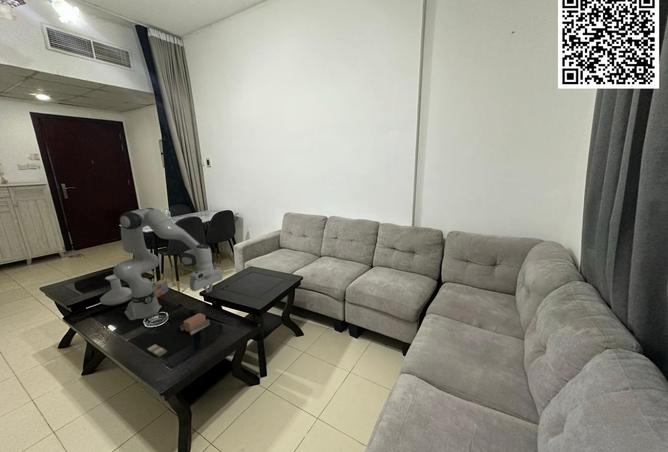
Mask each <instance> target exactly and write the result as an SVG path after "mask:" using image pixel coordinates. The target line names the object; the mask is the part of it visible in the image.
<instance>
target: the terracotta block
mask: <svg viewBox="0 0 668 452" xmlns="http://www.w3.org/2000/svg"><path fill="white" fill-rule="evenodd" d="M206 320H207V319H206V314H203V313H200V312H198V313H197V314H195V315H193V316H191V317H188V318H186V319H185V320H184V321H183V324H184V328H185V330H184V331H185V332H188V333H190V332H189V330H190V329H192V328H194V327H195V326H197V325H199V324H201V323H202V322H204V321H206Z"/></svg>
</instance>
